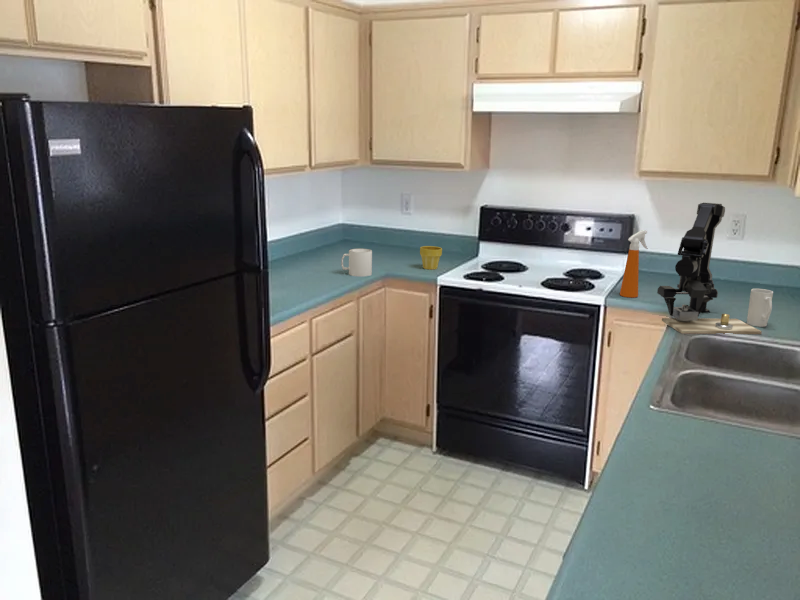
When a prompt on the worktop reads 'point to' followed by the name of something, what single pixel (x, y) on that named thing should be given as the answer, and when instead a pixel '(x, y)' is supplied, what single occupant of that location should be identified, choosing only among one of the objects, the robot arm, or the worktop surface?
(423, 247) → the plant pot
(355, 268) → the mug
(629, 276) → the spray bottle
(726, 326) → the hub
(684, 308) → the stand
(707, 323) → the board
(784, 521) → the worktop surface
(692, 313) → the grey square frame
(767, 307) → the mug
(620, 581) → the worktop surface
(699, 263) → the robot arm
